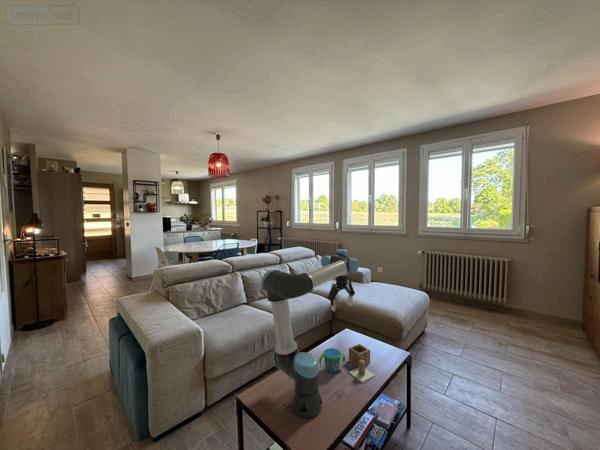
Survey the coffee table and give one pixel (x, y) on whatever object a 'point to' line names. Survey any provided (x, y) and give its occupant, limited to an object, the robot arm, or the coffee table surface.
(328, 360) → the snack cup
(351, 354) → the box
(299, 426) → the coffee table surface
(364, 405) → the coffee table surface
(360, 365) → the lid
